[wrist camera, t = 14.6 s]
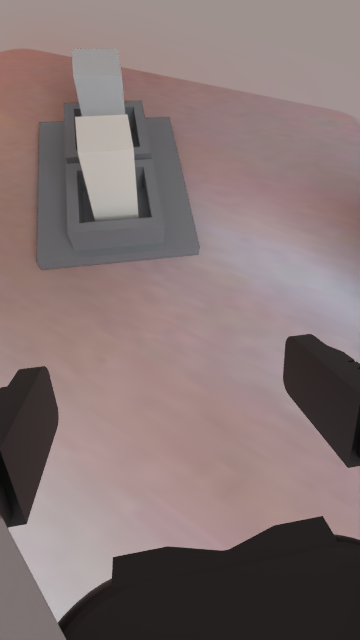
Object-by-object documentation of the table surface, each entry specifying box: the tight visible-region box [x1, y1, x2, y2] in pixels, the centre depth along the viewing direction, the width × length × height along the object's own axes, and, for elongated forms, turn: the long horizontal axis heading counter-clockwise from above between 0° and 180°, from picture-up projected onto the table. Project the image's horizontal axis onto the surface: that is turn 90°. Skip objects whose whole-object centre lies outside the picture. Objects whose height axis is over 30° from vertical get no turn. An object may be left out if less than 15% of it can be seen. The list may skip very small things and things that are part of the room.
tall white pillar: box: [75, 114, 139, 222], centre depth 33 cm, size 5×5×10 cm
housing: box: [37, 49, 200, 270], centre depth 35 cm, size 18×23×12 cm
